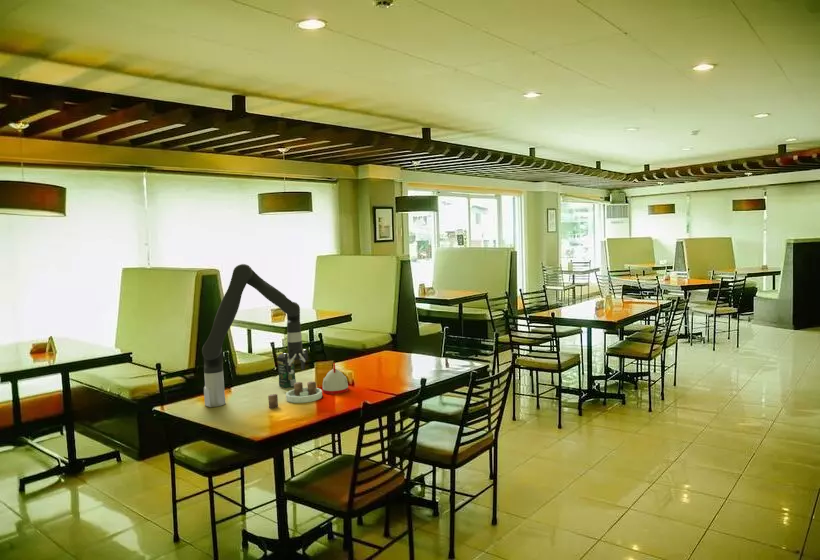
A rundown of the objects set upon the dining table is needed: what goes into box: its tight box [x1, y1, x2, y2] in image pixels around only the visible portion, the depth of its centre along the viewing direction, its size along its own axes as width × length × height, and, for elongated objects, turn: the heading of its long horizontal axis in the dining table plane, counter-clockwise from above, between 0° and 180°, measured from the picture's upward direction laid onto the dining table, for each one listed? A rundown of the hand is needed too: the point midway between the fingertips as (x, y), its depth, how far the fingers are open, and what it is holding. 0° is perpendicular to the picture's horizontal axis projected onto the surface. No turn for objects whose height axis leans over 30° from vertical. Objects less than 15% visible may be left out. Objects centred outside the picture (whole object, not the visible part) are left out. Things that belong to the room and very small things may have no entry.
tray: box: [285, 386, 323, 404], centre depth 296 cm, size 18×18×3 cm
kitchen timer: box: [321, 362, 349, 395], centre depth 308 cm, size 14×14×15 cm
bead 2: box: [307, 381, 317, 395], centre depth 299 cm, size 4×4×6 cm
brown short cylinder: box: [267, 393, 279, 409], centre depth 282 cm, size 4×4×6 cm
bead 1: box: [293, 381, 304, 395], centre depth 299 cm, size 4×4×6 cm
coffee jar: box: [277, 353, 297, 389], centre depth 321 cm, size 10×8×19 cm
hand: (296, 370), depth 298 cm, fingers open, 8 cm apart
